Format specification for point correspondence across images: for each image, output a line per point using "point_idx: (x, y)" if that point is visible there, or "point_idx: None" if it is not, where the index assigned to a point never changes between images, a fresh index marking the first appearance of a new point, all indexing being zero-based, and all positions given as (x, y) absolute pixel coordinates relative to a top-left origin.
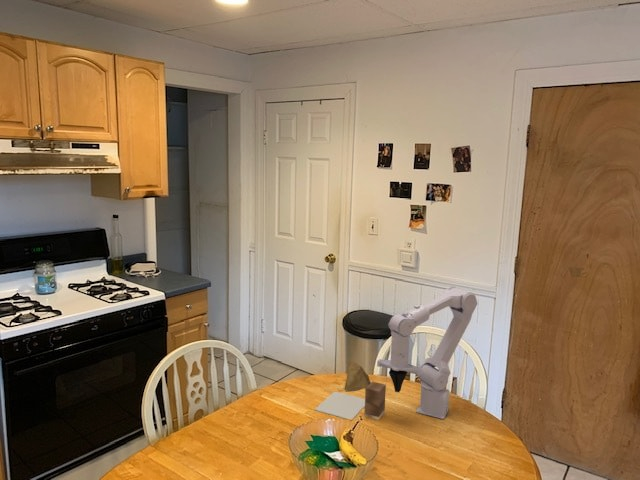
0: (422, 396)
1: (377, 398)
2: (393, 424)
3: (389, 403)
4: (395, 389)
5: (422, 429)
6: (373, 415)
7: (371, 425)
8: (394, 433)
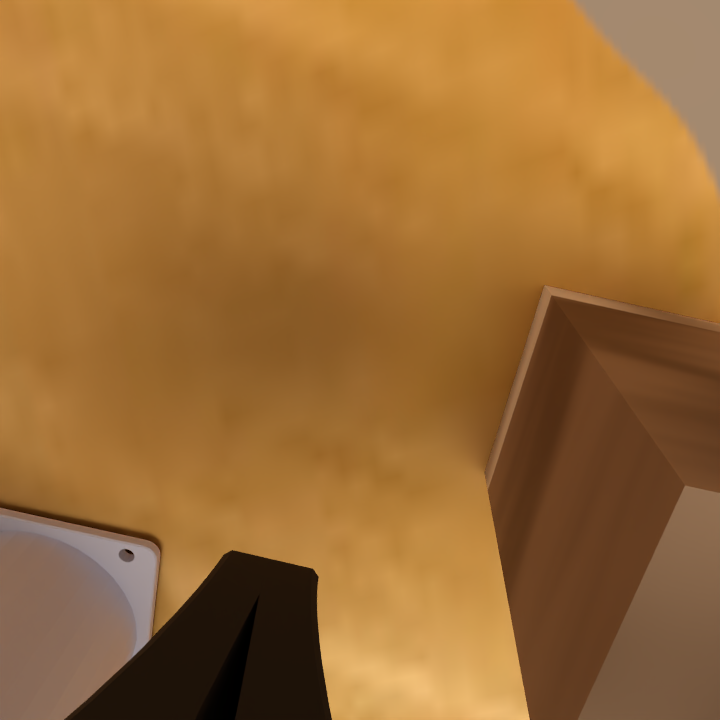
0: (17, 704)
1: (663, 410)
2: (353, 234)
3: (450, 645)
4: (291, 595)
5: (20, 225)
6: (621, 311)
7: (627, 119)
8: (309, 8)
